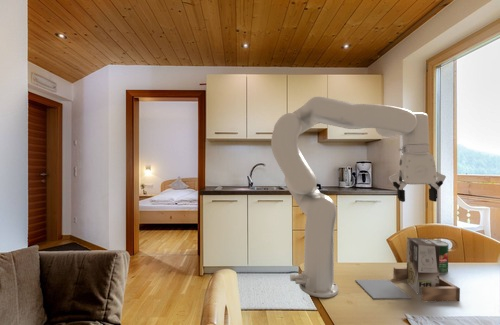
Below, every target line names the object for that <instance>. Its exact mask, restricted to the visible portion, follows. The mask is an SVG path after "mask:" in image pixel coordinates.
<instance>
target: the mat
mask: <svg viewBox="0 0 500 325" xmlns="http://www.w3.org/2000/svg"><path fill="white" fill-rule="evenodd" d="M354 281H355V282H356V283H357V284H358V285H359V286H360V287H361V288H362V290H364V291H365V292H366V293H367V294H368V295H369V297H371V299H373V300H411V299H412V296H410V295H409V294H407V292H404V291H403V290H402V289H401V288H400V287H399V286H397V285H396V284H395V283H394V282H392V281H391V280H389V279H355V280H354Z"/></svg>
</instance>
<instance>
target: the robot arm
mask: <svg viewBox="0 0 500 325" xmlns="http://www.w3.org/2000/svg"><path fill="white" fill-rule="evenodd" d="M429 122H430V121H429V115H428V114H427V113H425V112H412V111H411V110H410V109H406V108H403V107H402V108H401V107H398V106H393V105H386V104H373V103H372V104H369V103H368V104H367V103H354V102H348V101H343V100H338V99H334V98H329V97H325V96H313V97H312V98H310V99H308V100H307V101H306V102H305V103H304V105H302V106H301V107H299V108H298V109H296V110H294V111H293V112H287V113H284V114H283V115H281V116H280V117H279V118H278V119H277V121H276V122H275V123H274V126H273V130H272V133H271V144H270V145H271V146H270V147H271V151H272V155H273V157H274V159H275V161H276V163H277V164H278V166H279V168H280V169H281V170H280V171H282V173H283V175H284V183H285V186H286V187H287V189H288V191H289V193H290V194H291V195H292V196H291V197H292V198H293V199H294V201H295V203H296V204H297V206H298V207H299V209H300V210H301V212H302V213H303V214H304V215H305V216H306V217H305V227H304V250H303V251H304V255H303V257H304V262H303V263H304V264H303V265H304V268H303V270H301V273H298V274H297V275H296V274H290V275H289V280H290V282H294V283H295V285H299V288H300V290H301V291H302V292H303V293H305V294H306V295H309V296H311V297H316V298H321V299H323V298H324V299H325V298H327V299H328V298H333V297H335V296H337V295H338V293H339V286H338V284H337V283H336V282H334V275H335V274H334V273H335V271H334V269H335V268H334V267H335V262H334V261H335V228H336V220H337V206H336V204H335V201H334V200H333V199H332V198H331V197H330V196H328V195H327V194H324V193H322V192H320V190H319V189H318V187H317V185H318V181H317V180H318V179H317V176H316V174H315V173H314V171H313V169H312V168H311V167H310V165H309V163H308V162H307V160H306V158H305V157H304V156H303V154H302V151H301V150H300V148H299V144H298V139H299V136H300V135H302V134H303V133H305V132H306V131H309V129H311V128H313V127H315V126H316V125H317V124H323V125H327V126H328V125H329V126H332V127H338V128H343V129H348V130H361V129H375V131H376V133H377V134H378V135H379V136H381V137H385V138H391V137H392V138H393V137H396V136H401V137H402V138H401V140H402V141H401V142H402V145H401V147H398V152H402V153H401V155H400V158H399V161H398V162H399V164H398V172H395V173H393V174H392V175H390V176H388V180H389V181H390V183H391V186H393V187H394V188H395V189H396V192H397V193H396V194H397V199H398V201H399V202H401V203H404V202H406V191H405V189H404V188H405V187H406V186H407V185H427V186H428V187H429V188H428V200H429V201H431V202H435V203H436V202H437V201H438V190H439V189H440V187H441V186H442V185H443V184H444V181H445V179H446V175H445V174H443V173H439V172H437V168H436V166H437V165H436V162H435V159H434V154H433V153H430V131H429V130H430V127H429ZM397 178H398V182H397V181H396V179H397Z"/></svg>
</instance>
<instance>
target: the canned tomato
mask: <svg viewBox="0 0 500 325" xmlns="http://www.w3.org/2000/svg"><path fill="white" fill-rule="evenodd" d="M427 239H428V238H427ZM428 240H430V241H431V242H433V243H435V244H437V245H438V246H440V256H439V275H447V274H448V273H449V244H450V243H448V242H446V241H442V240H440V239H439V240H438V239H430V238H429V239H428Z"/></svg>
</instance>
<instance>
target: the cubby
mask: <svg viewBox="0 0 500 325" xmlns="http://www.w3.org/2000/svg"><path fill="white" fill-rule="evenodd" d="M392 271H393V274H392V275H393V277H392V278H393V279H394V280H395V281H407V266H406V267H405V266H402V267H398V266H397V267H396V266H395V267H393V270H392ZM460 300H461V288H460V287H458V286H457V285H455V284H453V283H451V282H449V281H448V280H446V279H444V278H443V277H441V276H439V287H422V295H421V301H422V302H424V303H426V302H427V303H429V302H430V303H431V302H434V303H436V302H461V301H460Z"/></svg>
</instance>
